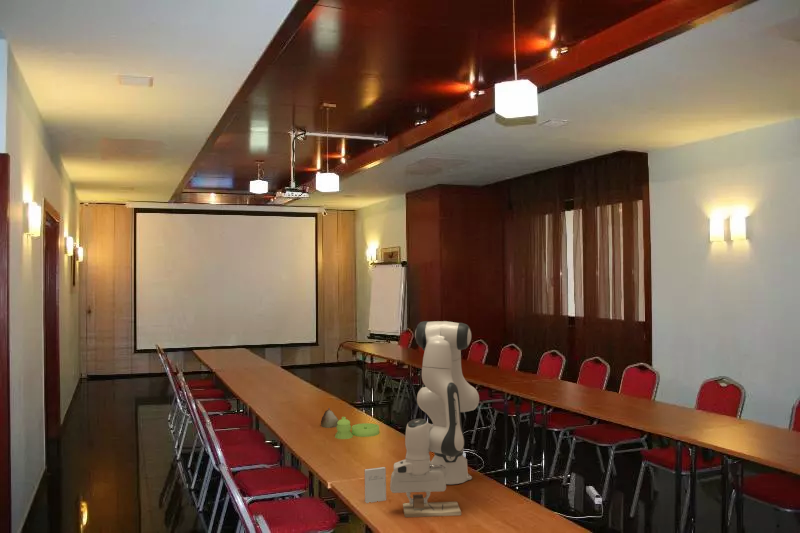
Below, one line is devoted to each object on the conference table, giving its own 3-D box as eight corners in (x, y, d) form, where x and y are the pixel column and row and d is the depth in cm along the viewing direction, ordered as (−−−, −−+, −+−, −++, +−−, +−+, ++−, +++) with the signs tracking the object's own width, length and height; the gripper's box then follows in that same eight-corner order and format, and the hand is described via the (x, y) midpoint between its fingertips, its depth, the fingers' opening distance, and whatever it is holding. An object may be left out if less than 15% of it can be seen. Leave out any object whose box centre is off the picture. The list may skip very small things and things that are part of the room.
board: (403, 506, 244) (403, 503, 244) (456, 504, 245) (456, 501, 245) (404, 517, 233) (404, 513, 233) (461, 515, 234) (461, 511, 234)
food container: (370, 433, 362) (370, 410, 362) (384, 438, 350) (384, 414, 350) (329, 439, 348) (329, 415, 349) (342, 445, 336) (342, 420, 336)
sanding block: (413, 505, 241) (412, 494, 241) (422, 505, 241) (422, 494, 241) (414, 510, 236) (414, 499, 236) (423, 510, 236) (423, 498, 236)
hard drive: (364, 502, 249) (364, 469, 249) (385, 499, 252) (384, 466, 252) (366, 503, 247) (365, 470, 248) (386, 500, 250) (386, 467, 251)
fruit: (333, 427, 376) (333, 406, 376) (342, 430, 369) (342, 409, 369) (318, 430, 370) (317, 409, 370) (327, 433, 362) (327, 411, 362)
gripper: (445, 462, 243) (445, 499, 242) (389, 463, 242) (390, 501, 241) (447, 467, 236) (448, 505, 236) (390, 468, 235) (390, 507, 235)
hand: (418, 503), depth 239 cm, fingers closed on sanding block, 3 cm apart
